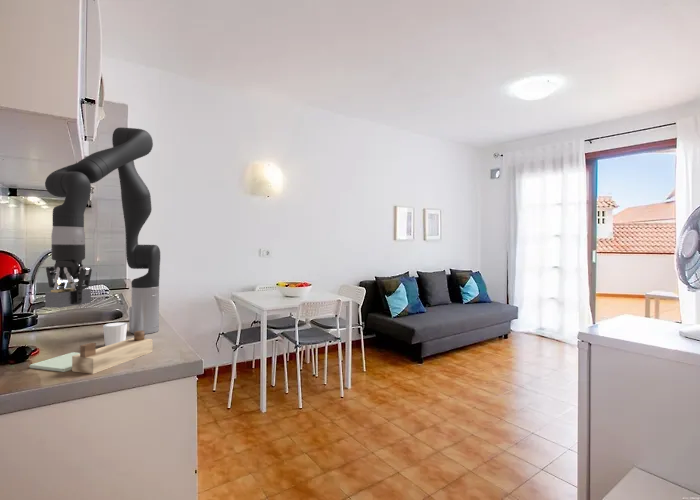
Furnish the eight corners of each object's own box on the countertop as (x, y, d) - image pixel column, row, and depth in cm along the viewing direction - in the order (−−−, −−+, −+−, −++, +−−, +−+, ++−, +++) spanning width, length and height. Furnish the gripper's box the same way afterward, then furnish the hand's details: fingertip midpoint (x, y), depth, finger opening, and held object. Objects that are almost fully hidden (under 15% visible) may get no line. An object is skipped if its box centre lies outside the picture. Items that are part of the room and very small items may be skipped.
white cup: (120, 341, 127) (120, 321, 126) (131, 344, 123) (131, 323, 123) (98, 346, 121) (98, 324, 121) (109, 349, 117) (109, 327, 117)
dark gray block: (45, 306, 100) (45, 289, 100) (77, 301, 108) (77, 286, 108) (59, 307, 98) (59, 290, 98) (90, 302, 107) (90, 286, 107)
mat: (29, 367, 99) (29, 364, 99) (72, 354, 111) (72, 352, 111) (64, 372, 96) (64, 368, 96) (104, 358, 108) (104, 355, 108)
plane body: (72, 371, 97) (72, 344, 97) (134, 350, 116) (134, 328, 116) (93, 373, 95) (93, 347, 95) (152, 352, 115) (152, 329, 115)
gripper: (101, 243, 105) (101, 302, 105) (62, 243, 109) (62, 300, 109) (75, 243, 98) (76, 307, 98) (34, 242, 101) (35, 304, 102)
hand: (68, 303), depth 103 cm, fingers closed on dark gray block, 5 cm apart
